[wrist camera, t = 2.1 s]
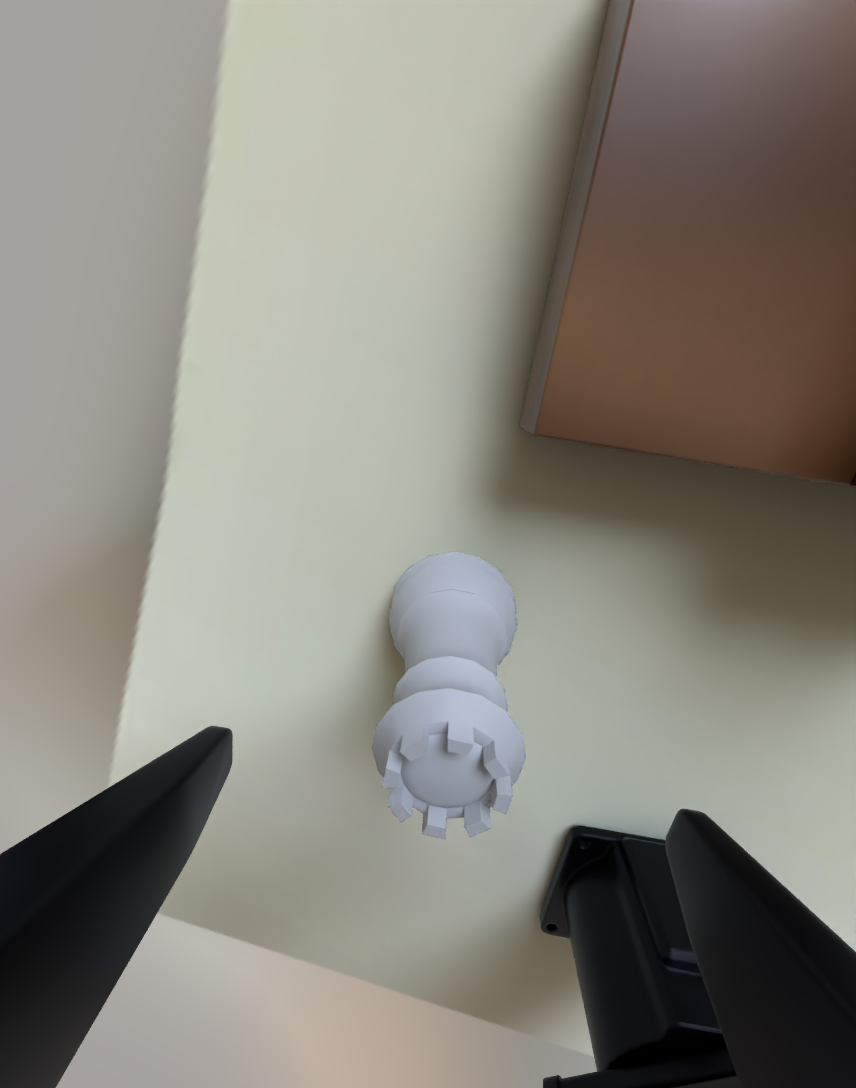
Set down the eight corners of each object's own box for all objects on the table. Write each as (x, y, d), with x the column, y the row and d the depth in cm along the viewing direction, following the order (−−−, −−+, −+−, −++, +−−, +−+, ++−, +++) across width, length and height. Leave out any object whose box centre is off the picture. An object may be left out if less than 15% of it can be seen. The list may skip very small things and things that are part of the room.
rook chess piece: (536, 576, 15) (610, 750, 8) (482, 674, 17) (501, 900, 9) (420, 527, 15) (379, 657, 8) (375, 630, 17) (303, 827, 9)
